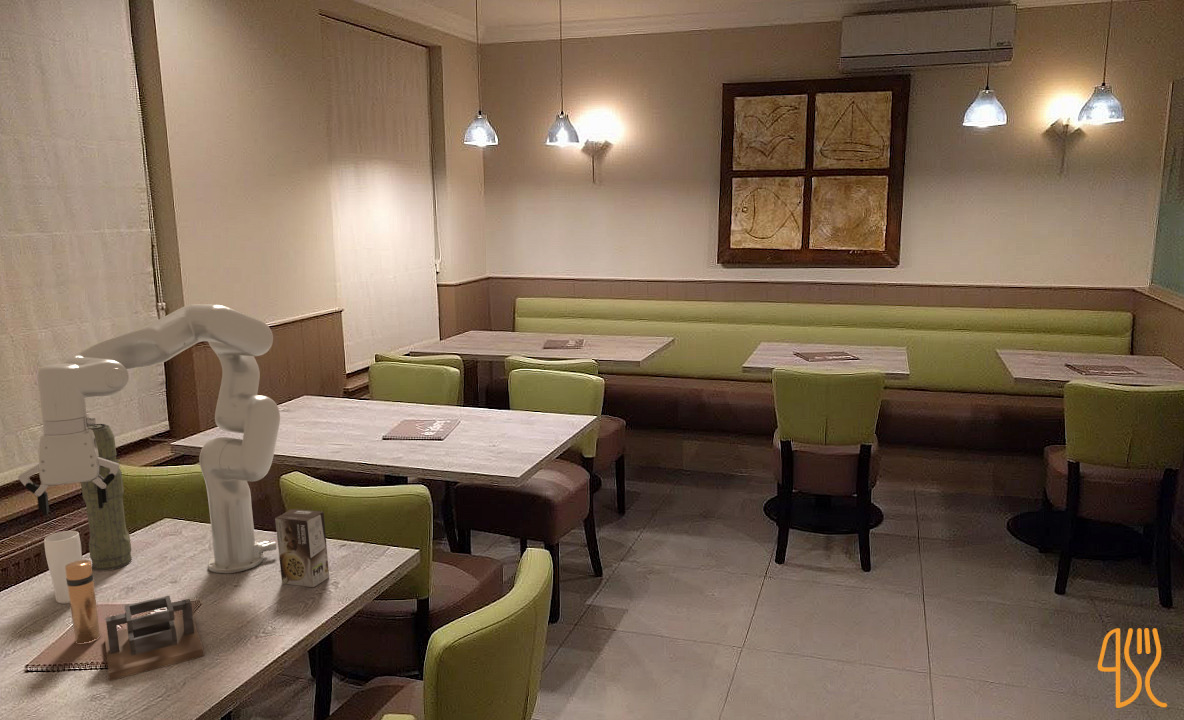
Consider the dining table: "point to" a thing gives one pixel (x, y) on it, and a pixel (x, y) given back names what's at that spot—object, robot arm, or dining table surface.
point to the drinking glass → (62, 560)
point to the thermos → (107, 510)
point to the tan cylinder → (82, 601)
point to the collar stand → (151, 637)
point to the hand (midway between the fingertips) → (74, 510)
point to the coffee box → (302, 547)
